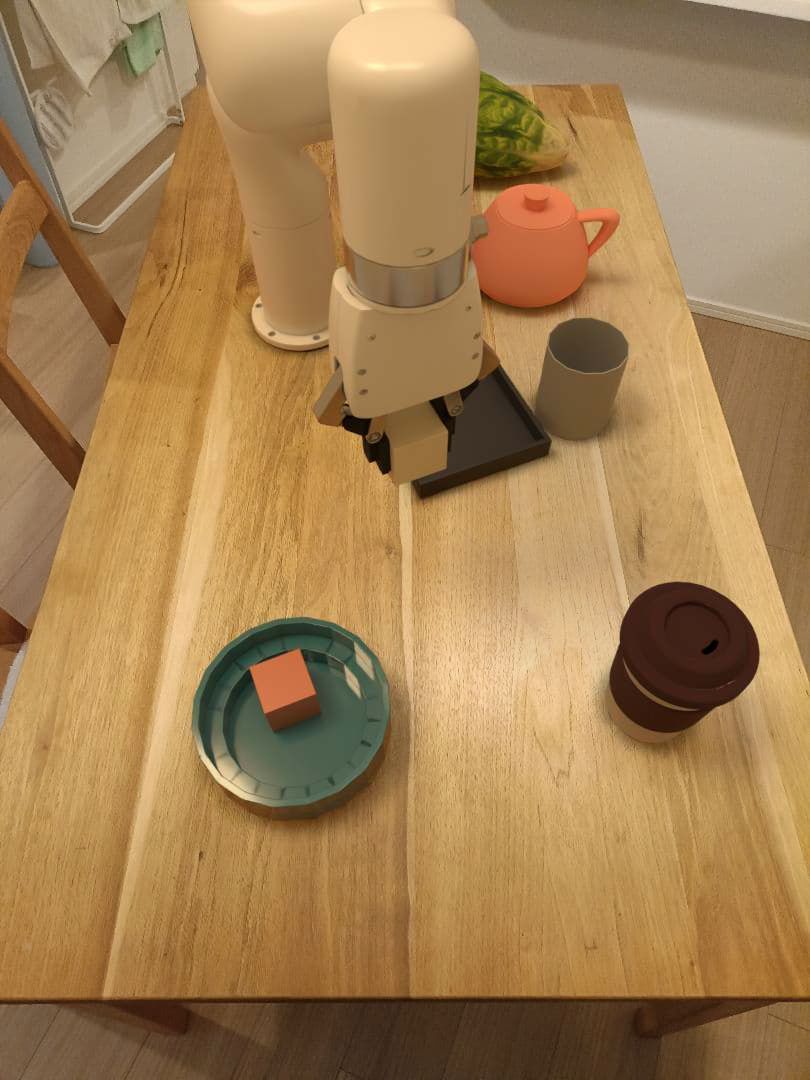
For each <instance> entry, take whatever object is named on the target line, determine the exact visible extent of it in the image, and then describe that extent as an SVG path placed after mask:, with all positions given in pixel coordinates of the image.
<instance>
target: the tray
mask: <svg viewBox="0 0 810 1080" xmlns="http://www.w3.org/2000/svg"><path fill="white" fill-rule="evenodd" d="M483 341H484V342H485V343H486V341H485V339H484V338H483ZM486 344H487V343H486ZM462 404H463V410H462V412H461V413H460V414H458V415H456V424H455V434H454V435H452V440H451V452H448V453H447V464H446V469H444V470H441V471H438V472H435V473H432V474H429V475H427V476H424V477H421V478H418V479H415V480H412V481H410V482H411V484H412V486H413V488H414V490H415V492H416V494H417V496H418V497H419V499H420V500H421V499H426V498H428V497H430V496H434V495H436V494H439V493H442V492H446V491H449V490H452V489H453V488H457V487H460V486H463V485H466V484H468V483H472V482H475V481H477V480H480V479H483V478H486V477H490V476H492V475H495V474H497V473H501V472H504V471H507V470H510V469H513V468H516V467H518V466H522V465H524V464H527V463H530V462H533V461H536V460H538V459H539V460H540V459H542V458H545V457H547V456H550V450H551V447H552V441H553V440H552V439H551V437H550V435H549V434H548V433H547V430H546V429H545V428H543V427H542V425H541V424H540V422H539V421H538V419H537V417H536V415H535V413H534V412H533V411H532V408H531V407H530V406H529V404H528V403H527V401H526V400H525V398H524V397H523V395H522V394H521V392H520V391H519V390H518V388H517V387H516V385H515V383H514V382H513V381H512V379H511V378H510V376H509V375H508V373H507V371H506V370H505V369H504V367H503V366H502V364H501V363H500V364H499V365H498V367H496V368H495V369H494V370H493V371H492V372H491V373H490V374H488V375H487V376H486V377H485V378H484V379H483V380H482V379H480V380H479V385H478V387H477V388H476V389H475V390H474V391H473V392H472V393H471V394H470V395H469V396H468V397H467V398H466V399H465V401H464V402H463V403H462Z"/></svg>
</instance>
